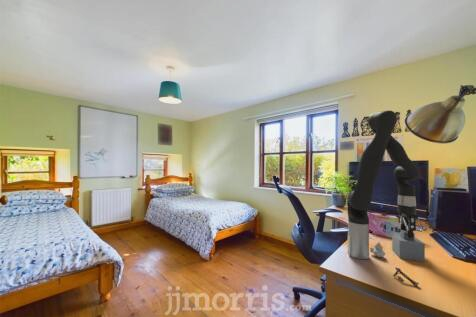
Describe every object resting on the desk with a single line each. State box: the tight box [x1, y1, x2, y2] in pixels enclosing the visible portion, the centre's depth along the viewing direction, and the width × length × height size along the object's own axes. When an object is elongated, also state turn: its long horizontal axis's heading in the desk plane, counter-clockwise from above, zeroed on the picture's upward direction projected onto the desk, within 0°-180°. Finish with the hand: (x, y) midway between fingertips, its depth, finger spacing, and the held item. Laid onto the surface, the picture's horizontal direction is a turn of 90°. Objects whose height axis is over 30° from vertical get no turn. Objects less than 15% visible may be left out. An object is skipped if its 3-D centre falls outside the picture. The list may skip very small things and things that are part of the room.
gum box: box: [367, 211, 407, 239], centre depth 137 cm, size 24×8×14 cm, turn 42°
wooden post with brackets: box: [392, 266, 420, 288], centre depth 83 cm, size 2×8×4 cm, turn 29°
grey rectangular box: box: [391, 230, 426, 262], centre depth 107 cm, size 10×10×12 cm
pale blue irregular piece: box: [369, 241, 386, 258], centre depth 106 cm, size 5×7×8 cm
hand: (406, 235), depth 108 cm, fingers open, 8 cm apart
